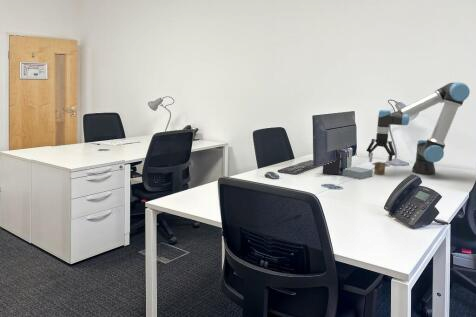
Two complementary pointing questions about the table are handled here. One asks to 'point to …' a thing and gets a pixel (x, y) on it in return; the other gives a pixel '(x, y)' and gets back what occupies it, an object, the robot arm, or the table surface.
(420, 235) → the table surface
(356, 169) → the slate base
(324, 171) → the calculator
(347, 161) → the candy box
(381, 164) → the walnut block
